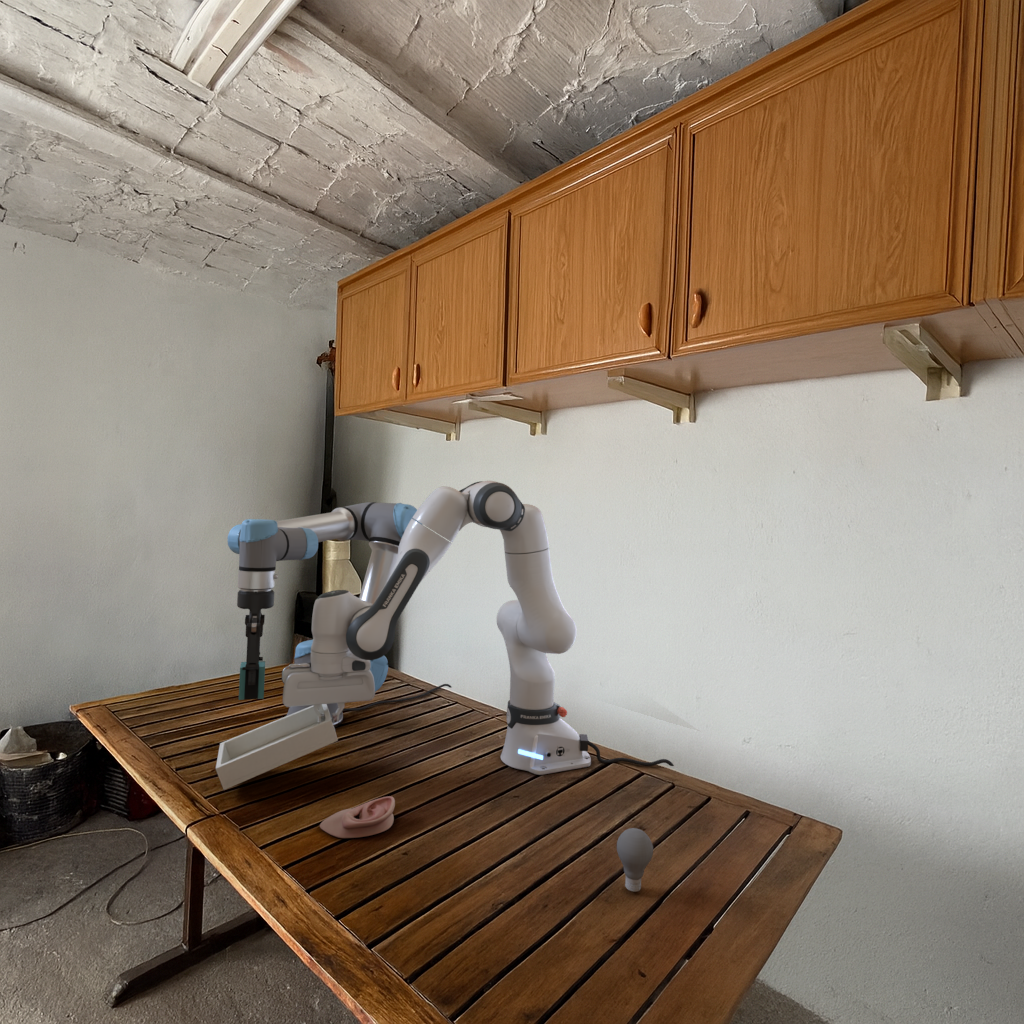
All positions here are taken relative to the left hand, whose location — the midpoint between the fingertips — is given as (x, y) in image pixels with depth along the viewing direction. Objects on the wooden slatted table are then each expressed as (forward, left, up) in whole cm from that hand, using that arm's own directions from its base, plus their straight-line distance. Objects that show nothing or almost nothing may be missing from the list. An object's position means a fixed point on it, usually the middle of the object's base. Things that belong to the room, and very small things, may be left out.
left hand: (251, 694), depth 139 cm
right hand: (-14, +9, -7) cm, 18 cm away
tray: (-5, +4, -13) cm, 15 cm away
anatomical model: (-5, +32, -19) cm, 38 cm away
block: (0, 0, 0) cm, 0 cm away
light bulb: (-23, +82, -19) cm, 88 cm away
